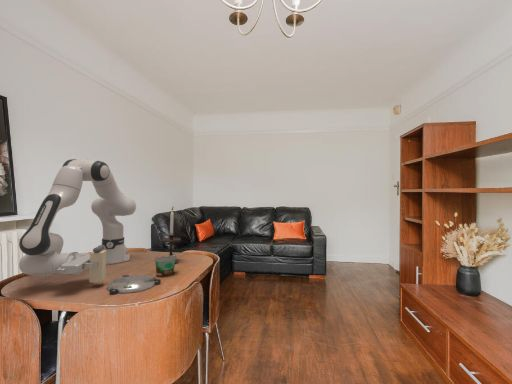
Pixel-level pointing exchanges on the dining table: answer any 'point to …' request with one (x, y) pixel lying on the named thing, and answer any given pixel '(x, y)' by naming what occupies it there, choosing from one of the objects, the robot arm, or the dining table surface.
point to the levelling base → (132, 284)
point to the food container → (165, 265)
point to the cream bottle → (100, 271)
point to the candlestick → (171, 235)
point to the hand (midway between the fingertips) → (100, 262)
